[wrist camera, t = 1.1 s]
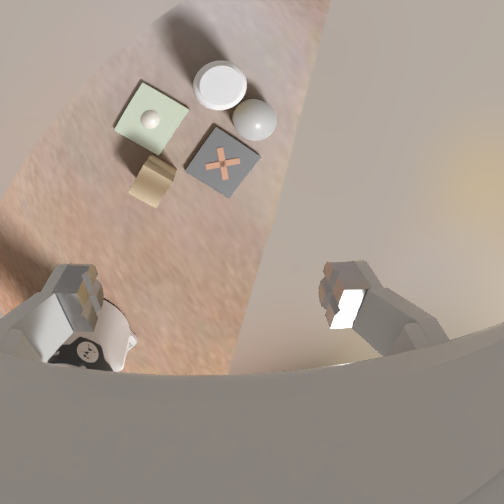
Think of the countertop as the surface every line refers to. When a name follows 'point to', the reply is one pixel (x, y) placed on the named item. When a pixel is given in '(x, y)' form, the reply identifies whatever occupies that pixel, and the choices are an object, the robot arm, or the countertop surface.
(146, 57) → the countertop surface
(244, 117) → the light grey dome
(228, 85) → the supplement bottle
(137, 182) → the block
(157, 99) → the pad
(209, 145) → the pad
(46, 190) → the countertop surface
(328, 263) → the robot arm
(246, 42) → the countertop surface
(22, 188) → the countertop surface
